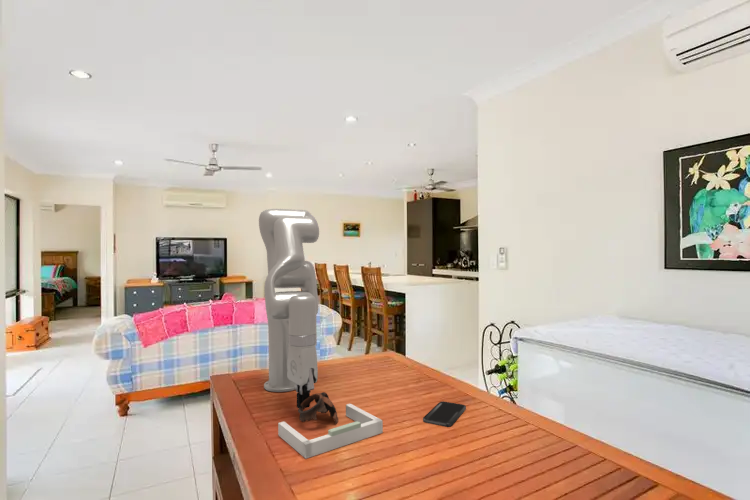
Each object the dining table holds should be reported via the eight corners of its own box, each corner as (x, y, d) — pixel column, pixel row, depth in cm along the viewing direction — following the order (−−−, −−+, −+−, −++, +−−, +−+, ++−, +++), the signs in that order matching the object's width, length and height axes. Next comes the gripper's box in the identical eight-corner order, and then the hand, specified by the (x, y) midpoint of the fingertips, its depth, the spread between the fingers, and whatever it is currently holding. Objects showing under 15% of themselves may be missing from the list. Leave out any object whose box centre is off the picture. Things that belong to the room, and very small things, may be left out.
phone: (421, 419, 107) (440, 400, 120) (421, 423, 107) (440, 404, 120) (450, 424, 103) (467, 405, 116) (450, 429, 103) (467, 409, 116)
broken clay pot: (339, 431, 103) (323, 405, 101) (307, 445, 104) (290, 420, 103) (343, 402, 115) (329, 378, 113) (314, 415, 116) (299, 392, 114)
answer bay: (278, 435, 100) (278, 418, 100) (350, 414, 112) (350, 399, 112) (305, 458, 88) (305, 440, 88) (382, 432, 101) (382, 416, 101)
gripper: (278, 337, 116) (279, 402, 116) (302, 346, 104) (303, 419, 104) (302, 334, 120) (303, 397, 120) (328, 342, 108) (328, 412, 108)
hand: (303, 407), depth 112 cm, fingers closed
